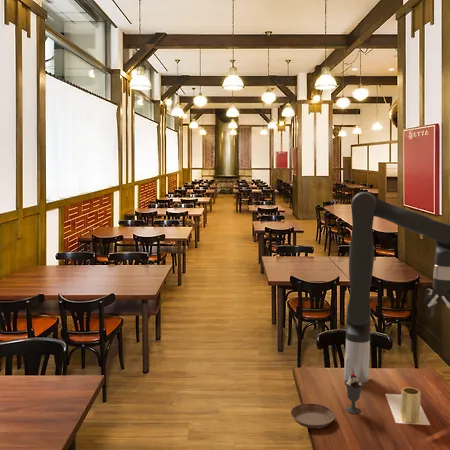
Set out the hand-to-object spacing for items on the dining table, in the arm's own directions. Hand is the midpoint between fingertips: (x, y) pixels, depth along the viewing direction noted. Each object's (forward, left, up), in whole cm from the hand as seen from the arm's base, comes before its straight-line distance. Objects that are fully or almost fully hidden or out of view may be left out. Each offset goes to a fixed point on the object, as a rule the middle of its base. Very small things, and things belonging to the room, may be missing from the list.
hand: (441, 319), depth 200 cm
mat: (-15, -19, -28) cm, 37 cm away
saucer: (-48, -30, -29) cm, 64 cm away
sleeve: (-16, -27, -27) cm, 41 cm away
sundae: (-34, -21, -28) cm, 49 cm away
